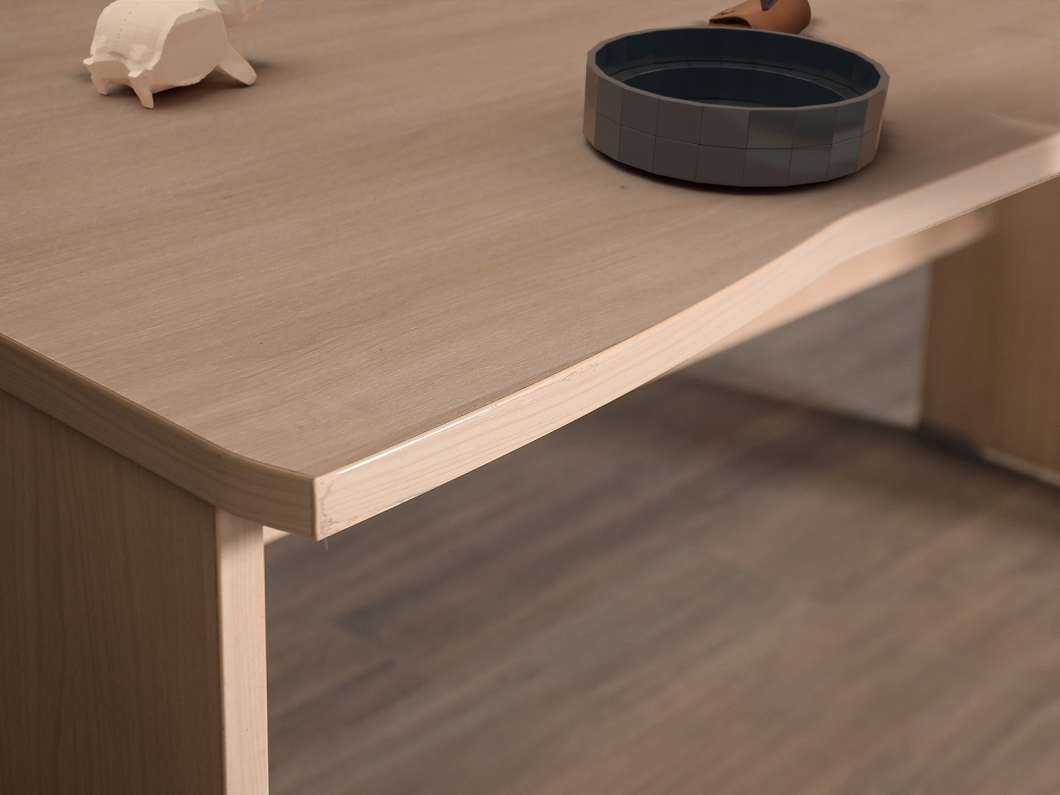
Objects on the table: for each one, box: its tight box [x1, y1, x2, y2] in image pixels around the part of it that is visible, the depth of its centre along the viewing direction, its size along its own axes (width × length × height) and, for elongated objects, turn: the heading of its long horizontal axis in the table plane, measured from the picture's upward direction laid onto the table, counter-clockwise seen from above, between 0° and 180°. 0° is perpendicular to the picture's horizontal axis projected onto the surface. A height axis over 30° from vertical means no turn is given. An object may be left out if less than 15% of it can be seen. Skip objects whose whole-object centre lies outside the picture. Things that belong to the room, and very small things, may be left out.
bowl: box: [582, 25, 891, 188], centre depth 85 cm, size 20×20×6 cm
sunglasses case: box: [706, 0, 812, 35], centre depth 105 cm, size 18×7×7 cm
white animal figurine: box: [82, 0, 265, 109], centre depth 93 cm, size 9×8×15 cm
